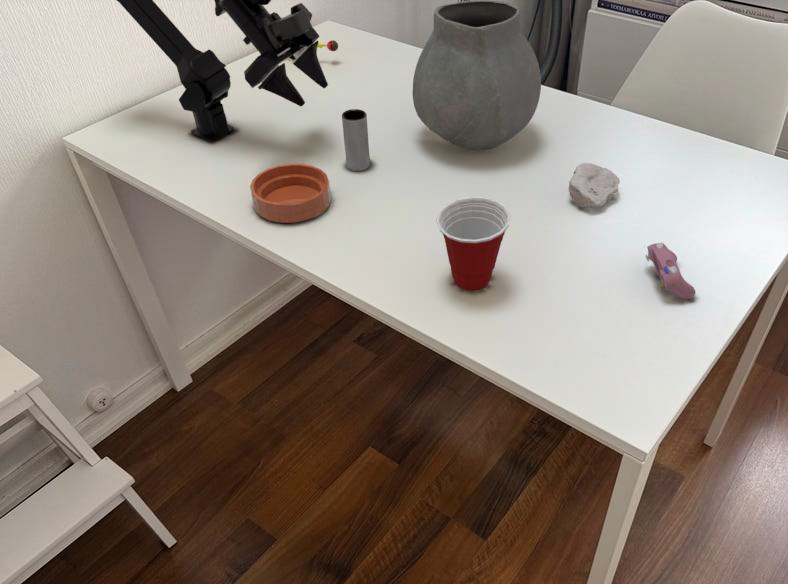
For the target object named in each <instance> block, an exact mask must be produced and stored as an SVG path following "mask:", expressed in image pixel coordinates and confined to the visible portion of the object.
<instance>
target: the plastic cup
mask: <svg viewBox="0 0 788 584" xmlns="http://www.w3.org/2000/svg"><path fill="white" fill-rule="evenodd" d="M511 216H512V215H511V213H510V212H509V209H508V207H507V206H505V205H504V204H503V203H501V202H500V201H499V200H496V199H492V198H489V197H485V196H467V197H463V198H457V199H455V200H452V201H451V202H448V203H446V204H445V205H444V206H443V207H442V208H441V209H440V210H439V211H438V213H437V217H436V221H435V222H436V225H437V227H438V230H439V232H440V233H442V235H443V238H444V242H445V243H444V244H445V248H446V253H447V258H448V263H449V266H450V272H451V277H452V281H453V282H454V285H455V286H456V287H458V288H459V289H461V290H462V291H467V292H477V291H481V290H483V289H485V288H487V286H488V285H489V283H490V282H491V280H492V279H491V277H492V274H493V272H494V269H495V268H496V267H495V266H496V263H497V259H498V255H499V252H500V248H501V245H502V242H503V238H504V236H505V233H506V231H507V229H508V228H509V226H510V221H511Z"/></svg>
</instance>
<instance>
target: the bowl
mask: <svg viewBox="0 0 788 584" xmlns="http://www.w3.org/2000/svg"><path fill="white" fill-rule="evenodd" d="M249 188H250V193H251V198H252V202H253V206H254V210H255V212H256V213H257V214H258V215H259V216H260V217H262V218H264V219H265V220H267V221H270V222H275V223H282V224H283V223H285V224H288V223H289V224H291V223H292V224H293V223H299V222H304V221H308V220H311V219H313V218H316V217H318V216H319V215H321V214H323V213H324V212H325V211H326V210H327V209H328V208H329V206H330V204H331V199H332V195H331V194H332V193H331V186H330V179H329V178H328V175H327V173H326V172H325V171H323V170H322V169H321V168H318V167H316V166H314V165H311V164H306V163H284V164H278V165H275V166H271V167H269V168H266V169H265V170H262V171H260V172H259V173H258V174H256V176H255V177H254V178H253V179H252V180H251V183H250V185H249Z"/></svg>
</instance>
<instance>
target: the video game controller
mask: <svg viewBox="0 0 788 584" xmlns="http://www.w3.org/2000/svg"><path fill="white" fill-rule="evenodd" d="M646 249H647V254H646V253H645V260H646V261H648V262H650V261H651V262H652V263H653V266H654V268H655V269H654V270H655V271H656V274H657V276H658V278H659V279H660V281H661V282H659V283H660V286H661V287H662V288H664V290H665V291H666V292H667V291H668V292H670V293H671V294H672V295H674V296H675V297H677V298H679V299H682V300H691V299H693V298H694V297H695V296H696V289H695V287H694V286H693V285H692V284H690V283H689V282H688V281H686V280H685V279H684V277H683V275H682V274H681V273H682V272H681V270H680V268H679V266H678V264H677V261H678V256H677V255H676V253H674V252H673V251H672V250H670V249H669V248H668V246H667V245H666V244H664V243H663V242H662V241H661V242H656V243H652V244H650V245H647V247H646Z"/></svg>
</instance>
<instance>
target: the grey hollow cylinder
mask: <svg viewBox="0 0 788 584" xmlns="http://www.w3.org/2000/svg"><path fill="white" fill-rule="evenodd" d="M341 125H342V133H343V134H342V135H343V144H344V153H345V165H346V167H347V168H348V170H350V171H354V172H362V171H366V170H367V169H369V168H370V166H371V155H370V143H369V131H368V129H369V128H368V115H367V112H366V111H364V110H363V109H358V108H352V109H347V110H345V111H343V112H342V114H341Z"/></svg>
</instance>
